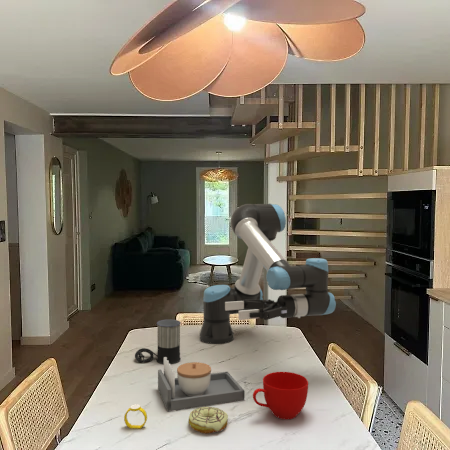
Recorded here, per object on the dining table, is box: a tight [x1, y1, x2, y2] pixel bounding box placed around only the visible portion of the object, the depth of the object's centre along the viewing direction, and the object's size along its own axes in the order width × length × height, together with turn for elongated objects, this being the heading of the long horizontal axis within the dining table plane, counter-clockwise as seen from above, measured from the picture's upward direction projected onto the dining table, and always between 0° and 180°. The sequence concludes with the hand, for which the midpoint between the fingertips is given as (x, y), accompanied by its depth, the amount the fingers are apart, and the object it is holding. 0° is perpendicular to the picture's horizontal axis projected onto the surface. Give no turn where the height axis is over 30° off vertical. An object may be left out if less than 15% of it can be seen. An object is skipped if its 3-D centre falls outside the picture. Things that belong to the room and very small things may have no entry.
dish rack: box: [157, 357, 246, 412], centre depth 140 cm, size 16×24×11 cm, turn 109°
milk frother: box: [134, 318, 182, 365], centre depth 169 cm, size 14×16×15 cm
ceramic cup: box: [252, 371, 309, 420], centre depth 126 cm, size 13×17×10 cm
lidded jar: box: [176, 361, 212, 396], centre depth 139 cm, size 11×11×9 cm
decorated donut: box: [188, 406, 229, 435], centre depth 121 cm, size 10×11×4 cm
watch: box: [123, 403, 148, 430], centre depth 119 cm, size 6×3×6 cm, turn 86°
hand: (231, 310), depth 142 cm, fingers open, 13 cm apart
